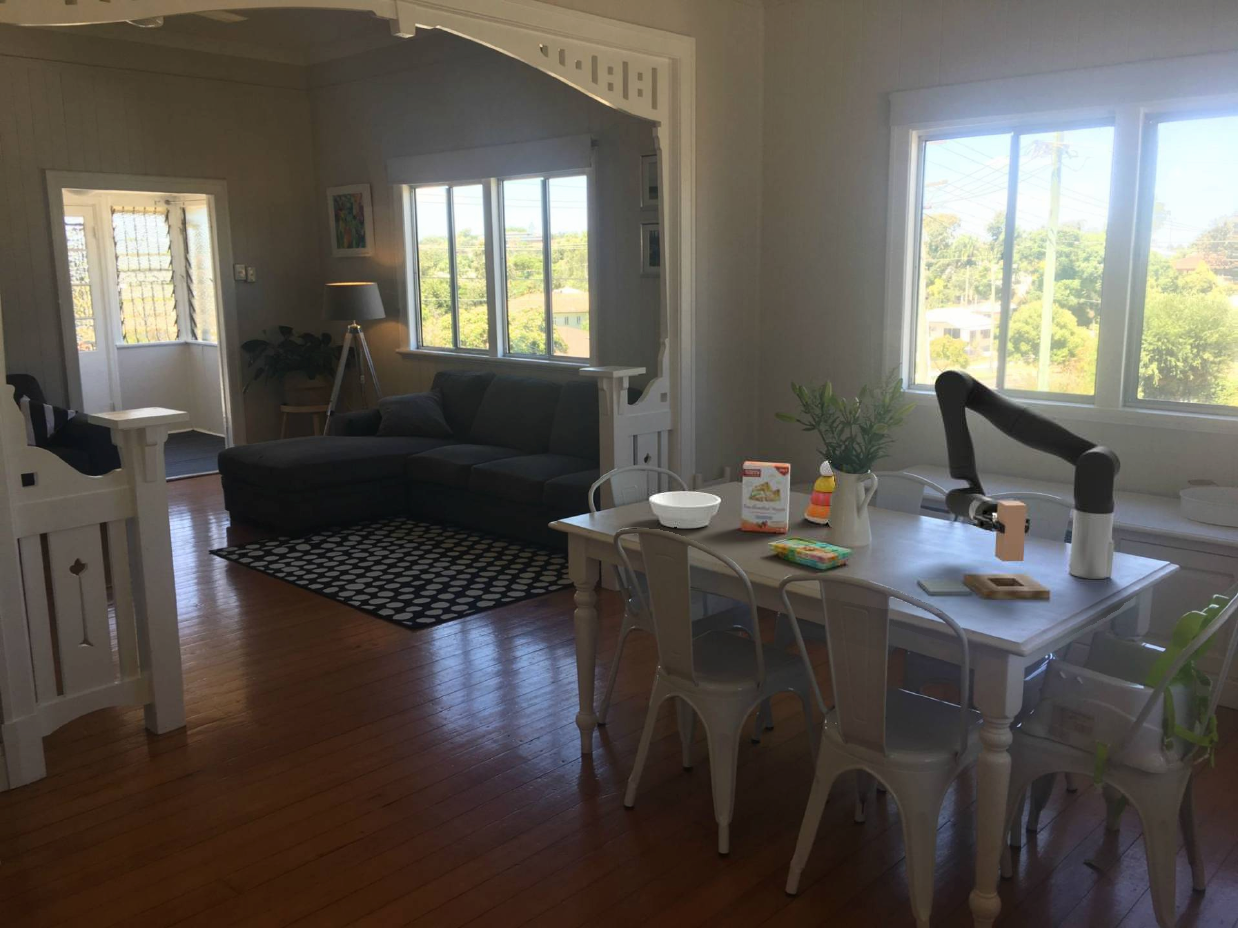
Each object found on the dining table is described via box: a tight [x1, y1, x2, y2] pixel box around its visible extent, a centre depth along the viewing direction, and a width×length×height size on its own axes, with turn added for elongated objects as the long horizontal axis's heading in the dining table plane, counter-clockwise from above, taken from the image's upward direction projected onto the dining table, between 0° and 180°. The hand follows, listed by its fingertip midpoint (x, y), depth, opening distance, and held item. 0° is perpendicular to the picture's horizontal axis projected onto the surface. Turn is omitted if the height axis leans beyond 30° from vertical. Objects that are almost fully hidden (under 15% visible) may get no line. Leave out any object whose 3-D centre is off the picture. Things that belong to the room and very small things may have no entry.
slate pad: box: [917, 578, 972, 596], centre depth 250 cm, size 10×10×1 cm
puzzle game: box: [766, 536, 853, 570], centre depth 276 cm, size 12×5×20 cm
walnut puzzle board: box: [962, 573, 1051, 600], centre depth 249 cm, size 16×14×2 cm
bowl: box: [648, 491, 722, 529], centre depth 315 cm, size 22×22×8 cm
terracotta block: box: [994, 500, 1027, 562], centre depth 246 cm, size 5×5×14 cm
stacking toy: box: [804, 460, 835, 525], centre depth 319 cm, size 14×14×20 cm
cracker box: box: [740, 460, 791, 534], centre depth 307 cm, size 14×6×21 cm, turn 76°
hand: (1015, 529), depth 244 cm, fingers closed on terracotta block, 5 cm apart
